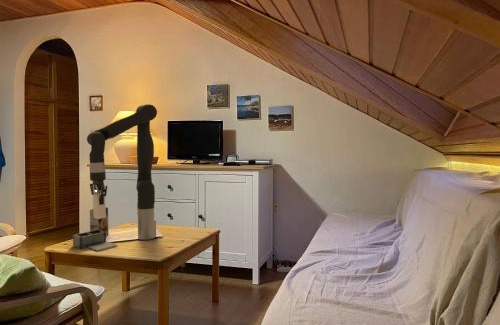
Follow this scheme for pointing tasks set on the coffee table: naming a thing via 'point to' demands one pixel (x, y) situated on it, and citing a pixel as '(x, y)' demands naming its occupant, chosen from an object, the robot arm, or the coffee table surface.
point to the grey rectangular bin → (89, 239)
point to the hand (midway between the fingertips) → (99, 203)
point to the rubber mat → (103, 246)
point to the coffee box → (99, 222)
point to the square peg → (98, 208)
